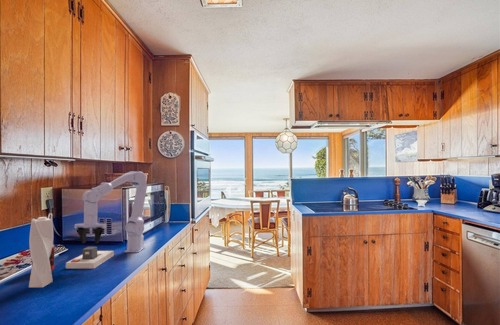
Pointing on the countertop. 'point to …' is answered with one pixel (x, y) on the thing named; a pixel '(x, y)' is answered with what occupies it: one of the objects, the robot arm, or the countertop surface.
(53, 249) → the canned food
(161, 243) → the countertop surface
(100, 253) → the socket plate
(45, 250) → the skyscraper
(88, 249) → the plug
